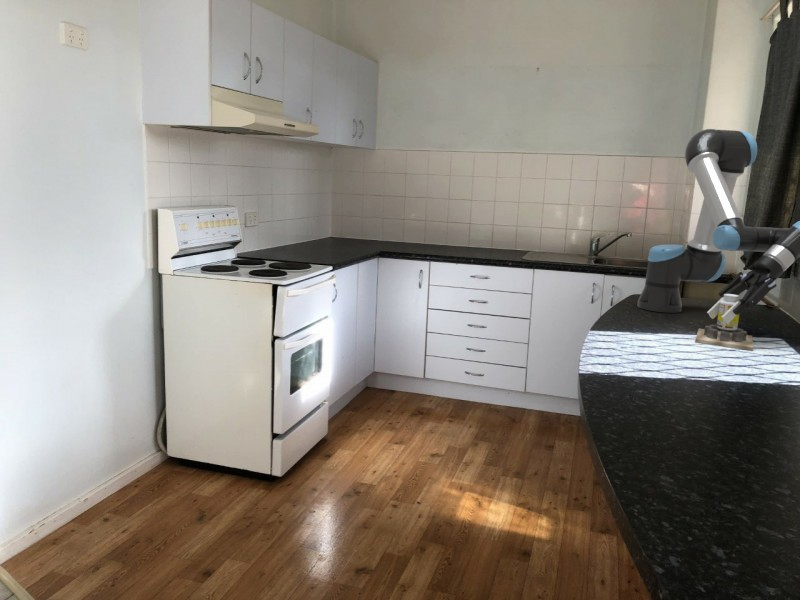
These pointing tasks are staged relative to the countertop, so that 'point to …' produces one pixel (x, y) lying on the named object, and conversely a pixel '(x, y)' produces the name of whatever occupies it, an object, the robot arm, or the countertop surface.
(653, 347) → the countertop surface
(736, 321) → the supplement bottle
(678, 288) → the robot arm
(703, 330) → the collar plate
